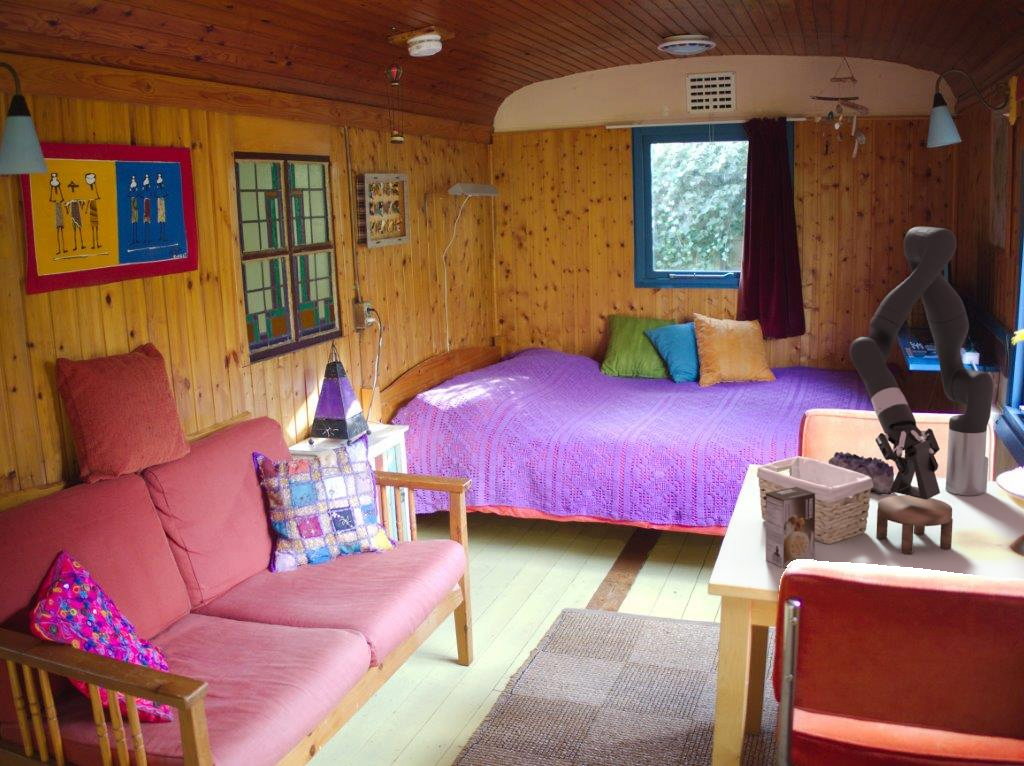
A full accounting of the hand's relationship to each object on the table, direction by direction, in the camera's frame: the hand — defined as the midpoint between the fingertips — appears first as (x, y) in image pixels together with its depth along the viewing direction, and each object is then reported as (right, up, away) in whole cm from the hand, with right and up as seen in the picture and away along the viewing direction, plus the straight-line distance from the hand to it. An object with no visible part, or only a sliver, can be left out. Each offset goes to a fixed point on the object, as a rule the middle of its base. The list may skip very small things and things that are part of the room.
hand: (920, 471), depth 225 cm
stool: (0, -17, +5) cm, 18 cm away
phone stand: (0, -5, +3) cm, 6 cm away
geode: (+4, -8, +48) cm, 49 cm away
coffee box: (-31, -20, -2) cm, 37 cm away
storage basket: (-19, -16, +18) cm, 31 cm away
